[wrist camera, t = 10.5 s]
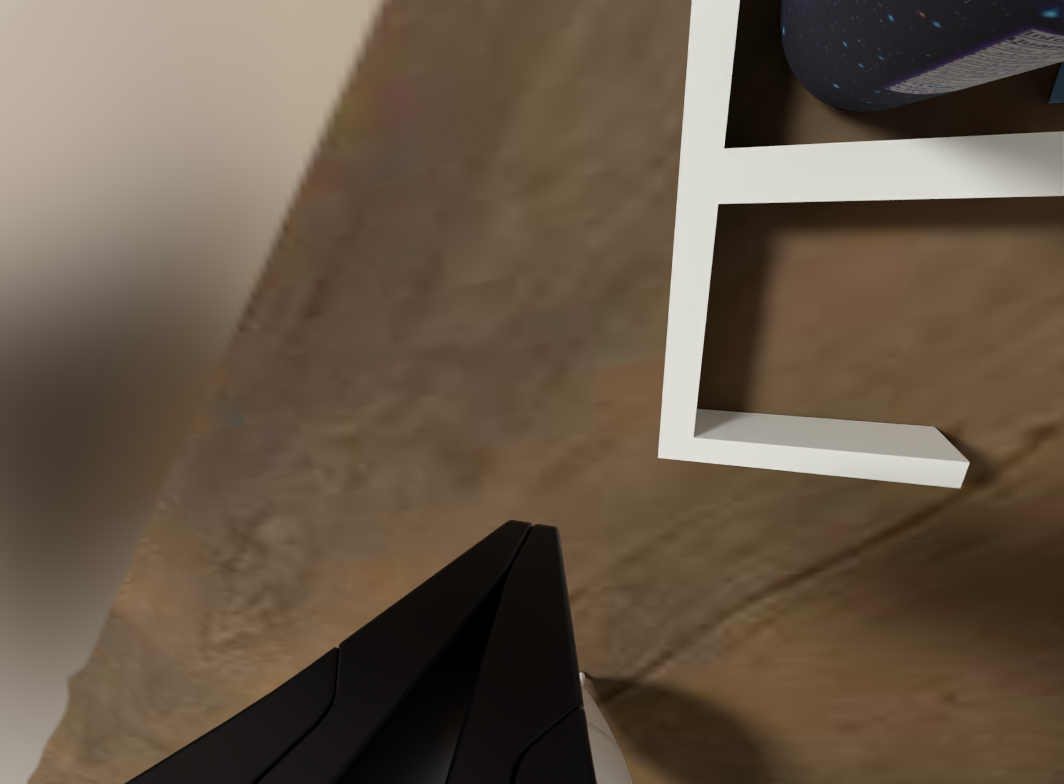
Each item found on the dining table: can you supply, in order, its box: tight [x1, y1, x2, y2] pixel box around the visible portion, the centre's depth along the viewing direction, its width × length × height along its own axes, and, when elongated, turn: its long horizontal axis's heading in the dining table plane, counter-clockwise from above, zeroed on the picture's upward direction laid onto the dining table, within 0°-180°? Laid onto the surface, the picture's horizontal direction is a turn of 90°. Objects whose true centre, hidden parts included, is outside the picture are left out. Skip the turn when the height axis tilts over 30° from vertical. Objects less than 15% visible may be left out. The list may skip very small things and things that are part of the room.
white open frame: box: [658, 0, 1064, 488], centre depth 15 cm, size 10×20×2 cm, turn 3°
